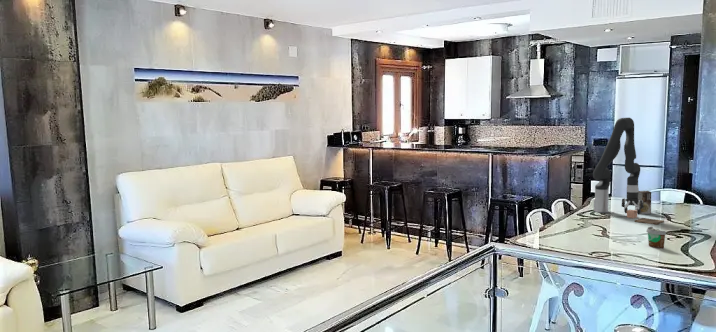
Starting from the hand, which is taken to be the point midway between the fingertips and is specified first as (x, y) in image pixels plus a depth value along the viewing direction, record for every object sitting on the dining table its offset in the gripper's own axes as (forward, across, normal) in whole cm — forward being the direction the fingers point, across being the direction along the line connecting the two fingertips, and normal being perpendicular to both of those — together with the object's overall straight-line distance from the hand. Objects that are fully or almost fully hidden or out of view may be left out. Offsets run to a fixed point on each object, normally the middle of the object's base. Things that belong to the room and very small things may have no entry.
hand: (632, 213), depth 379 cm
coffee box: (+3, -2, +20) cm, 21 cm away
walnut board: (+3, +15, -8) cm, 17 cm away
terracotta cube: (+3, 0, 0) cm, 3 cm away
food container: (+4, +43, -70) cm, 83 cm away
